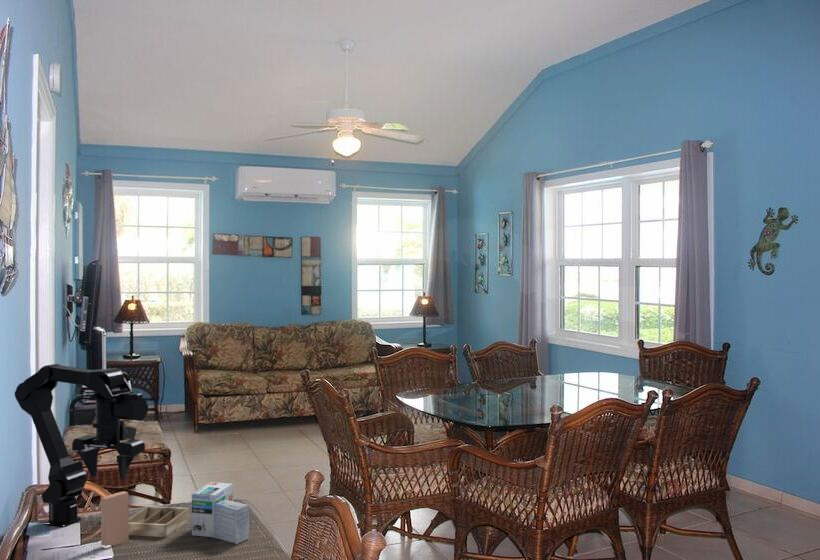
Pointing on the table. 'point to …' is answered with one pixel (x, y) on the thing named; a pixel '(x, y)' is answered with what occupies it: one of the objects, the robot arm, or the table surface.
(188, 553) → the table surface
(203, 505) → the light bulb box
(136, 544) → the table surface
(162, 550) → the table surface
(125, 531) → the rectangular block
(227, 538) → the medicine box
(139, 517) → the slot box
